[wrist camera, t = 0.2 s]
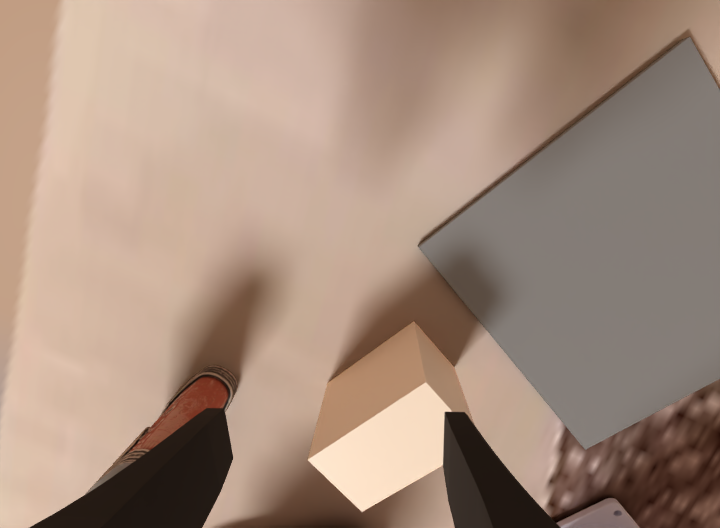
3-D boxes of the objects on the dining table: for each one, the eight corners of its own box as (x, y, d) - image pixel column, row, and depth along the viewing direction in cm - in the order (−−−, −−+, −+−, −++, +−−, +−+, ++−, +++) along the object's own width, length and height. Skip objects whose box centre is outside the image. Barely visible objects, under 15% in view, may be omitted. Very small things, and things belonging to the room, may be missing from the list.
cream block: (453, 366, 21) (480, 443, 15) (367, 423, 22) (362, 511, 17) (413, 320, 20) (425, 382, 14) (327, 382, 22) (307, 459, 16)
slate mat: (835, 309, 18) (845, 312, 18) (581, 444, 22) (585, 449, 21) (682, 39, 15) (689, 36, 15) (417, 245, 19) (418, 247, 18)
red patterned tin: (206, 355, 22) (65, 505, 12) (249, 385, 22) (146, 553, 12) (148, 430, 24) (-12, 610, 14) (188, 456, 24) (59, 647, 15)
